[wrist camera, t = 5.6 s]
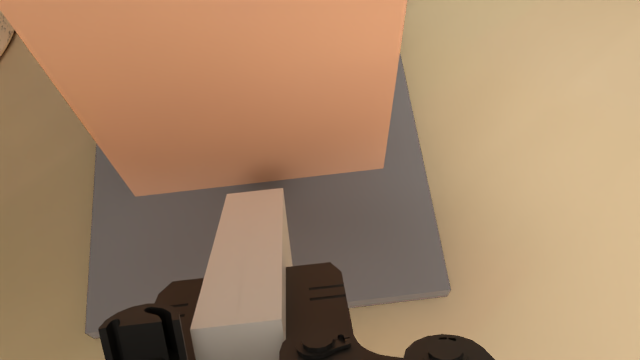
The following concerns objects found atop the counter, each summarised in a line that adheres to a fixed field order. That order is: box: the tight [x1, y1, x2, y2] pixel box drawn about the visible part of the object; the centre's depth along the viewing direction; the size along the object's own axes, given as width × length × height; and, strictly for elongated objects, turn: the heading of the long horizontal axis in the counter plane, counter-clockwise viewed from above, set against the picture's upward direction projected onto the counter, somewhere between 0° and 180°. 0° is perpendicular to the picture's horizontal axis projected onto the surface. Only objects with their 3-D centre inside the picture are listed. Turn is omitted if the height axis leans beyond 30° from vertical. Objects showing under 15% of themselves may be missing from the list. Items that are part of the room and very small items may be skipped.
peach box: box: [0, 0, 407, 197], centre depth 17 cm, size 2×9×12 cm, turn 97°
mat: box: [85, 55, 451, 338], centre depth 25 cm, size 20×12×1 cm, turn 7°
